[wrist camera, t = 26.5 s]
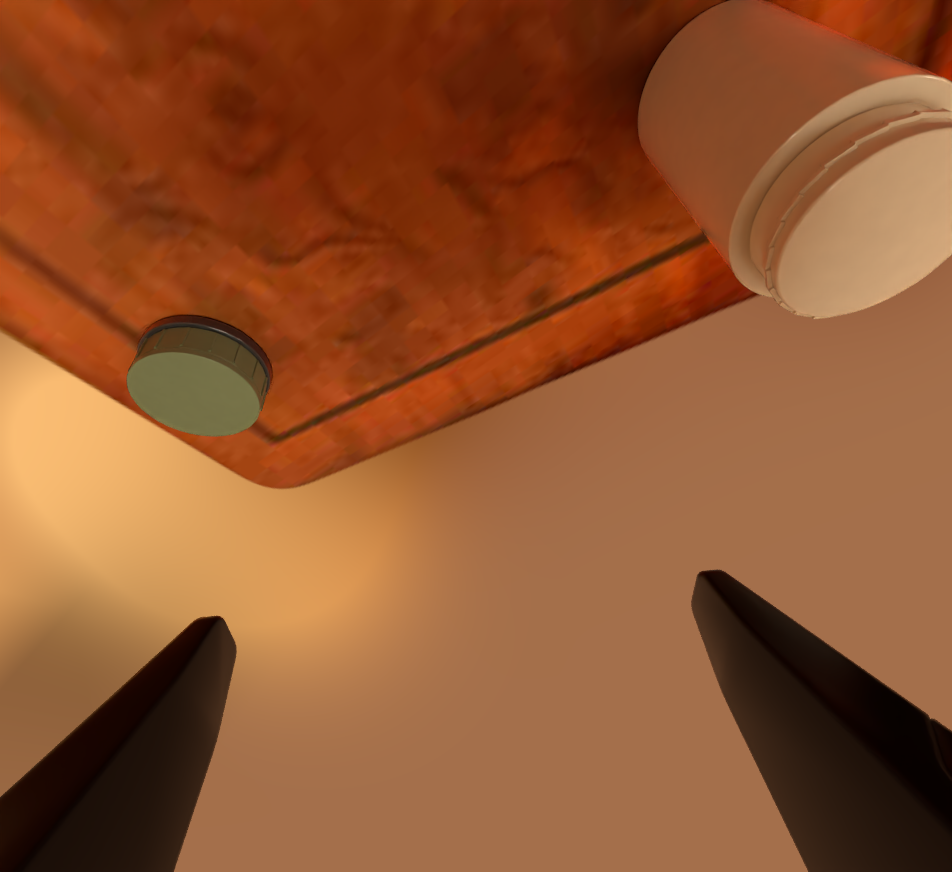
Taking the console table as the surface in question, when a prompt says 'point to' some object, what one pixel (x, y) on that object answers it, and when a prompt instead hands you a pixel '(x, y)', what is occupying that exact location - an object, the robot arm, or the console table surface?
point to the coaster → (214, 327)
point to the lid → (197, 382)
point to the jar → (803, 156)
